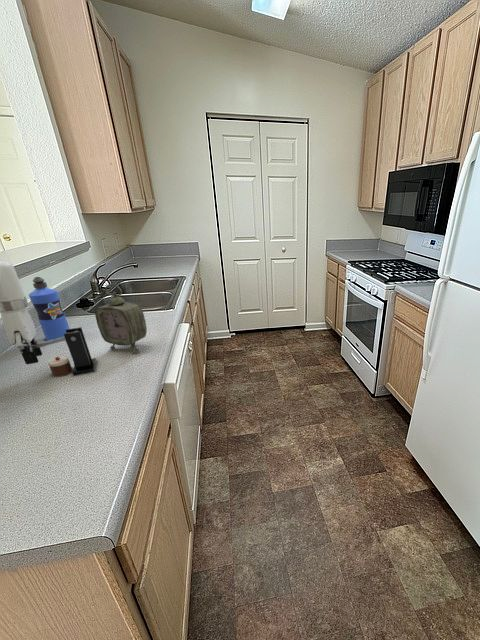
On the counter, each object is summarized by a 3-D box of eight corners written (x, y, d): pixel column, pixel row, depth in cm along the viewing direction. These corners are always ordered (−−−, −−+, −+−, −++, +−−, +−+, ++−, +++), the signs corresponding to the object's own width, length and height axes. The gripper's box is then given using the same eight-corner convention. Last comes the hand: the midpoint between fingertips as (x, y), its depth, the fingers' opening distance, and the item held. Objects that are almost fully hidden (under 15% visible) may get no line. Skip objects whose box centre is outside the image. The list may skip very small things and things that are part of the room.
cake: (51, 377, 108) (45, 362, 105) (54, 370, 113) (48, 355, 110) (71, 374, 110) (65, 358, 108) (73, 367, 115) (68, 352, 112)
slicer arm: (26, 355, 103) (22, 348, 102) (30, 349, 107) (26, 342, 106) (80, 340, 107) (76, 333, 106) (81, 335, 112) (78, 328, 110)
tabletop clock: (105, 351, 126) (85, 286, 115) (122, 342, 134) (105, 280, 123) (137, 355, 122) (120, 288, 111) (153, 345, 130) (138, 282, 119)
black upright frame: (73, 375, 109) (59, 336, 103) (77, 364, 116) (64, 327, 110) (94, 371, 111) (81, 333, 105) (96, 361, 119) (84, 324, 112)
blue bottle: (76, 334, 141) (56, 276, 130) (53, 342, 134) (30, 281, 123) (63, 331, 145) (43, 274, 134) (41, 338, 138) (17, 278, 127)
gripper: (4, 299, 104) (26, 351, 112) (-14, 314, 90) (12, 373, 98) (33, 296, 107) (53, 347, 115) (20, 310, 93) (43, 368, 101)
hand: (34, 358), depth 106 cm, fingers closed on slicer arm, 5 cm apart
